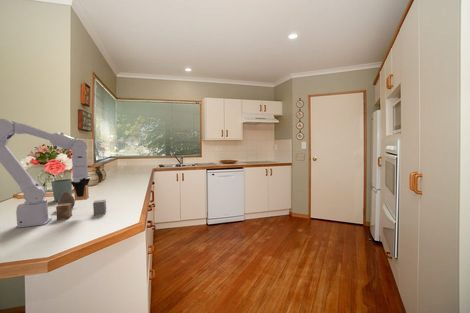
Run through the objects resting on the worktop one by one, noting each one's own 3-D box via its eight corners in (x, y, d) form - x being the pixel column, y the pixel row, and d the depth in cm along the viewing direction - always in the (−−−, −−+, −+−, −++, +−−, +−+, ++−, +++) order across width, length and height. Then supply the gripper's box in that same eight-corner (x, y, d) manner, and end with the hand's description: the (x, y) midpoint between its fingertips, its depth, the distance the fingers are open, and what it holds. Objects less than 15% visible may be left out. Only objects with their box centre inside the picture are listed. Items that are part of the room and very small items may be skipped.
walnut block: (56, 220, 100) (56, 206, 100) (60, 217, 105) (59, 204, 104) (69, 218, 102) (68, 205, 102) (72, 215, 106) (71, 203, 106)
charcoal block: (93, 215, 106) (93, 202, 105) (95, 213, 110) (95, 200, 109) (104, 214, 107) (104, 201, 107) (106, 211, 111) (105, 199, 111)
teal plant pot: (64, 201, 134) (63, 181, 134) (47, 201, 134) (46, 181, 134) (76, 197, 144) (75, 178, 144) (61, 197, 144) (60, 179, 144)
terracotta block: (74, 200, 103) (74, 187, 102) (77, 198, 107) (76, 185, 106) (86, 199, 104) (85, 186, 104) (88, 197, 108) (88, 184, 108)
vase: (55, 210, 116) (54, 193, 115) (69, 206, 122) (68, 190, 122) (64, 211, 113) (63, 194, 113) (78, 207, 120) (77, 191, 119)
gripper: (86, 167, 99) (88, 197, 100) (93, 164, 113) (94, 191, 114) (67, 167, 97) (69, 199, 98) (76, 165, 110) (78, 193, 111)
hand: (81, 195), depth 105 cm, fingers closed on terracotta block, 4 cm apart
